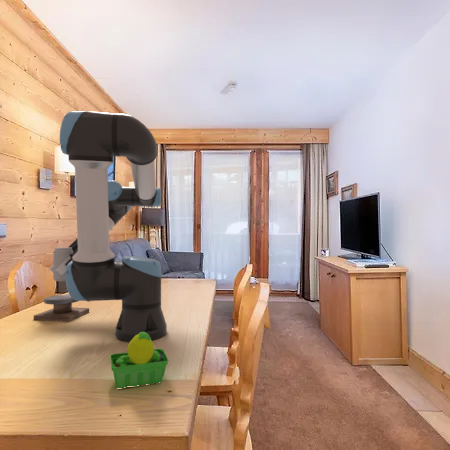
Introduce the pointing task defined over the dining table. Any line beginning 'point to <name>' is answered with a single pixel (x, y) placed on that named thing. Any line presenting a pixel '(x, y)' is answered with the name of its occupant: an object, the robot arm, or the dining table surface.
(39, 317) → the pedestal stand
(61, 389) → the dining table surface
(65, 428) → the dining table surface
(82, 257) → the robot arm
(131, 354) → the fruit basket
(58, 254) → the beverage can
